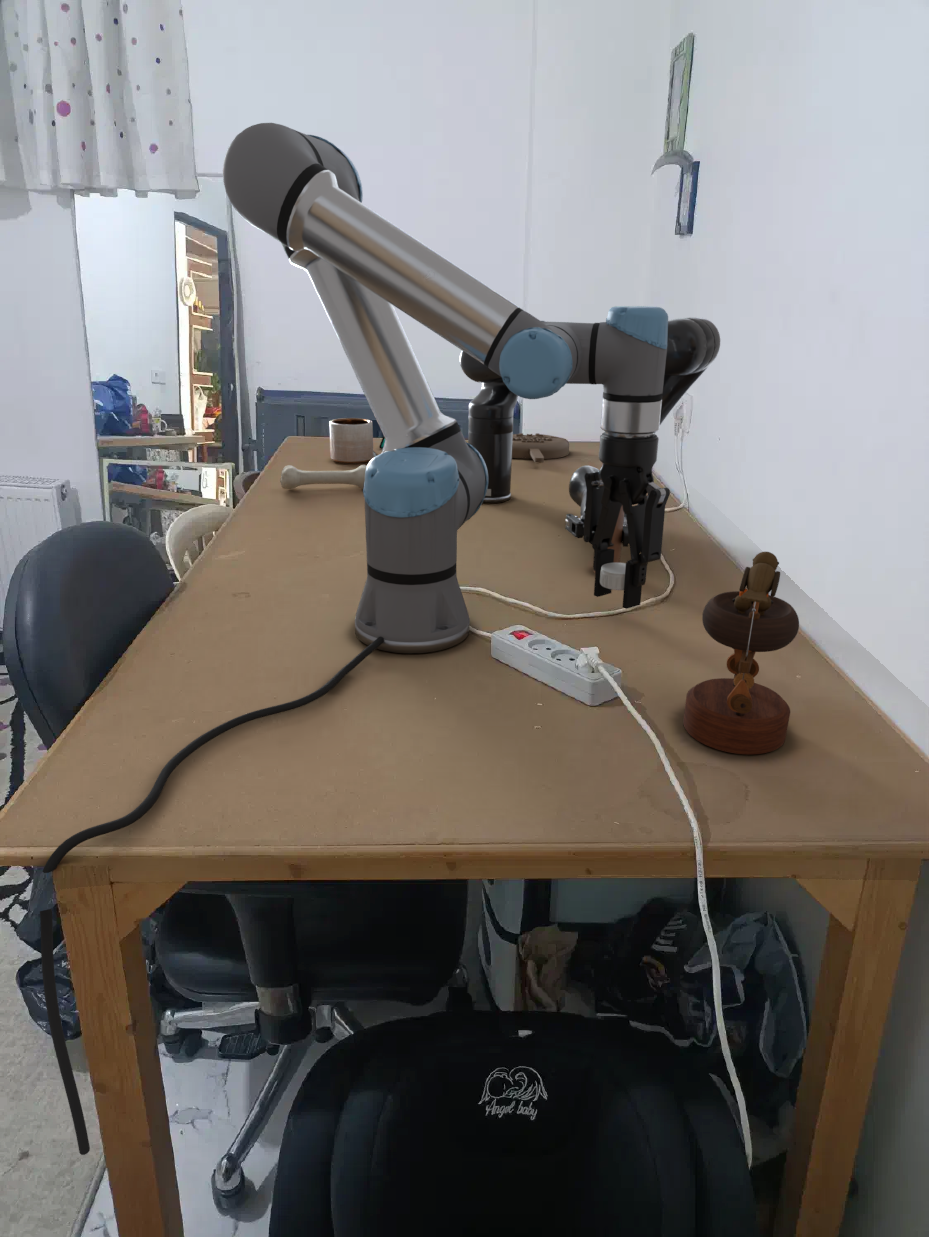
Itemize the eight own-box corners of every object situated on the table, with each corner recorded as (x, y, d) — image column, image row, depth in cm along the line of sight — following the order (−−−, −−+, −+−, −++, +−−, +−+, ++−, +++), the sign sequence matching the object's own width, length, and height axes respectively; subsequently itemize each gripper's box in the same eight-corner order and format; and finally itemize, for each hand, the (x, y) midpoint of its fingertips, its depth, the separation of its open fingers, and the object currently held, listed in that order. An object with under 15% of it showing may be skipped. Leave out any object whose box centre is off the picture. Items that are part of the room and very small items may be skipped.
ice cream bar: (497, 468, 207) (497, 451, 206) (489, 446, 233) (489, 431, 231) (582, 468, 208) (583, 451, 207) (564, 447, 234) (565, 431, 232)
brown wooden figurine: (807, 766, 83) (825, 574, 75) (692, 766, 84) (698, 577, 77) (772, 695, 97) (784, 526, 89) (674, 696, 98) (678, 530, 91)
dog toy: (372, 483, 190) (372, 461, 188) (374, 490, 185) (374, 467, 183) (281, 485, 187) (280, 463, 185) (280, 492, 182) (278, 469, 180)
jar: (597, 577, 135) (606, 465, 128) (590, 568, 138) (598, 459, 132) (622, 576, 135) (632, 464, 128) (614, 567, 139) (624, 459, 132)
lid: (634, 578, 120) (635, 562, 119) (639, 591, 115) (640, 574, 114) (598, 577, 120) (599, 561, 119) (601, 590, 115) (602, 573, 114)
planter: (327, 456, 217) (325, 418, 214) (369, 454, 220) (368, 417, 217) (334, 465, 208) (332, 425, 204) (377, 463, 211) (376, 424, 207)
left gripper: (703, 440, 105) (684, 614, 114) (602, 420, 119) (592, 577, 127) (661, 446, 101) (645, 626, 110) (561, 425, 114) (554, 587, 123)
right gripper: (563, 489, 147) (566, 515, 131) (646, 491, 146) (659, 518, 130) (560, 530, 149) (563, 561, 134) (641, 533, 149) (654, 564, 133)
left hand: (616, 599), depth 118 cm, fingers closed on lid, 5 cm apart
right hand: (610, 539), depth 132 cm, fingers closed on jar, 4 cm apart
